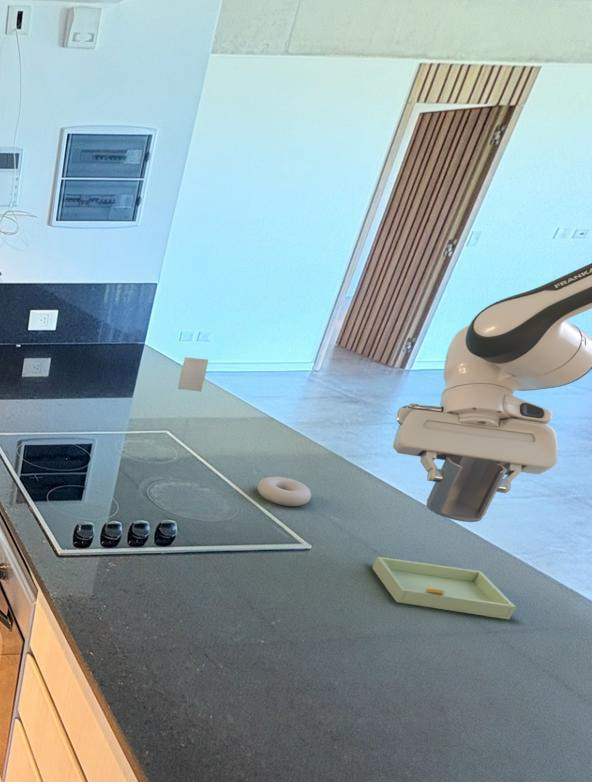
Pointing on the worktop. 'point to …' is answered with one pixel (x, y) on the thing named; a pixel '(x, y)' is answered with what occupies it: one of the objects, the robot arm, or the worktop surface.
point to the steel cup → (465, 488)
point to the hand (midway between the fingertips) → (467, 485)
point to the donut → (284, 491)
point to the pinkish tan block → (193, 374)
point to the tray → (442, 587)
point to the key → (435, 591)
